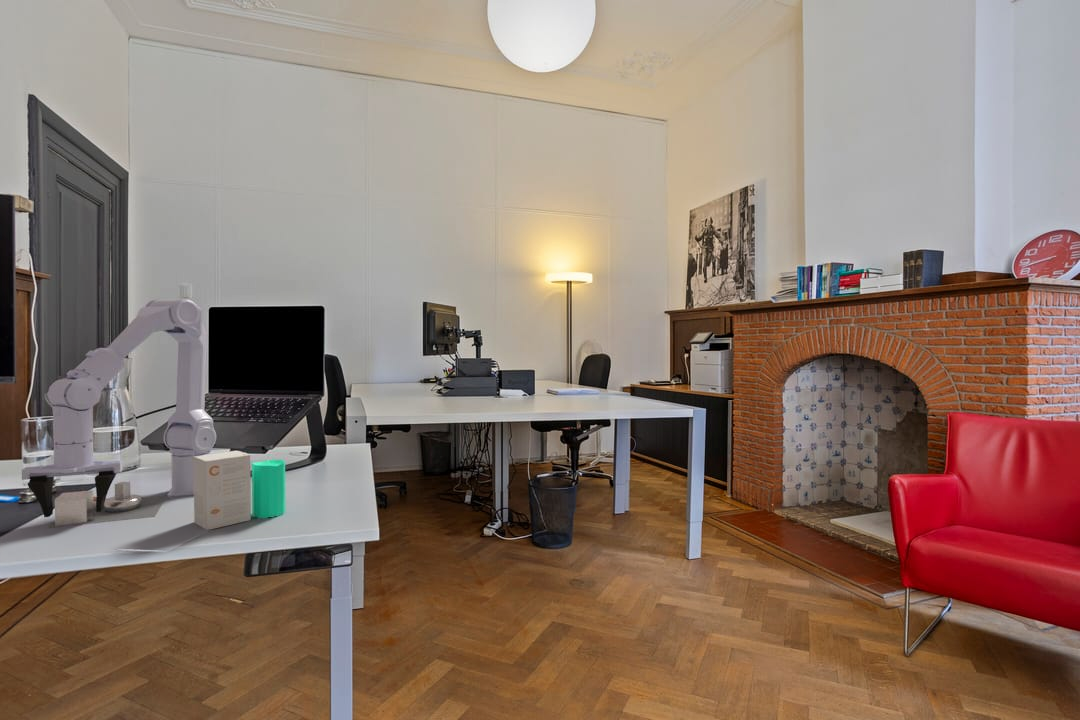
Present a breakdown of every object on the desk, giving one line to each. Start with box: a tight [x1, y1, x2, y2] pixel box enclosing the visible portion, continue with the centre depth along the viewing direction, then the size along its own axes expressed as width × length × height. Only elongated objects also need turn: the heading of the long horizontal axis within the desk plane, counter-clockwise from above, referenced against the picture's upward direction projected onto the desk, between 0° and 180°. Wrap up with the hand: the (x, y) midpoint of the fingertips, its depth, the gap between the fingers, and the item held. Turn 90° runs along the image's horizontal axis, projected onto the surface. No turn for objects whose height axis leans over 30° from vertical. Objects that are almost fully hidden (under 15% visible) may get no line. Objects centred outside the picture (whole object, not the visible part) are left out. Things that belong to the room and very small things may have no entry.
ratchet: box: [93, 481, 142, 513], centre depth 112 cm, size 13×6×5 cm, turn 87°
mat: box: [48, 495, 168, 529], centre depth 111 cm, size 16×16×1 cm
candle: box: [251, 454, 286, 519], centre depth 111 cm, size 6×6×12 cm
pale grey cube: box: [54, 490, 94, 526], centre depth 104 cm, size 5×5×5 cm
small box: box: [193, 450, 252, 531], centre depth 105 cm, size 8×6×13 cm
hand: (74, 513), depth 104 cm, fingers open, 7 cm apart
